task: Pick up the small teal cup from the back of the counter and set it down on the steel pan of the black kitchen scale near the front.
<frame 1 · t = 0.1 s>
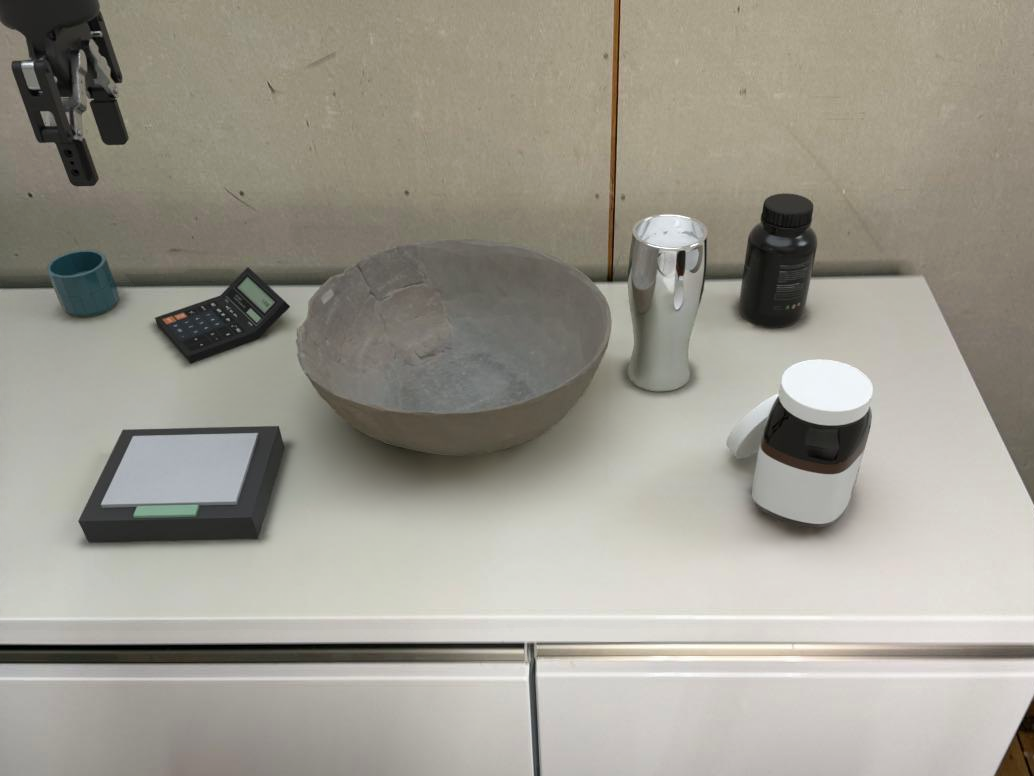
hand: (101, 163, 83), 20 cm above the table, tool pointing down, fingers open, 8 cm apart
kitchen scale: (191, 492, 83), on the table
calculator: (226, 326, 102), on the table
beer glass: (658, 375, 94), on the table
spread jar: (783, 487, 82), on the table
teal cup: (92, 304, 106), on the table
supplement bottle: (770, 313, 102), on the table
bowl: (463, 404, 91), on the table
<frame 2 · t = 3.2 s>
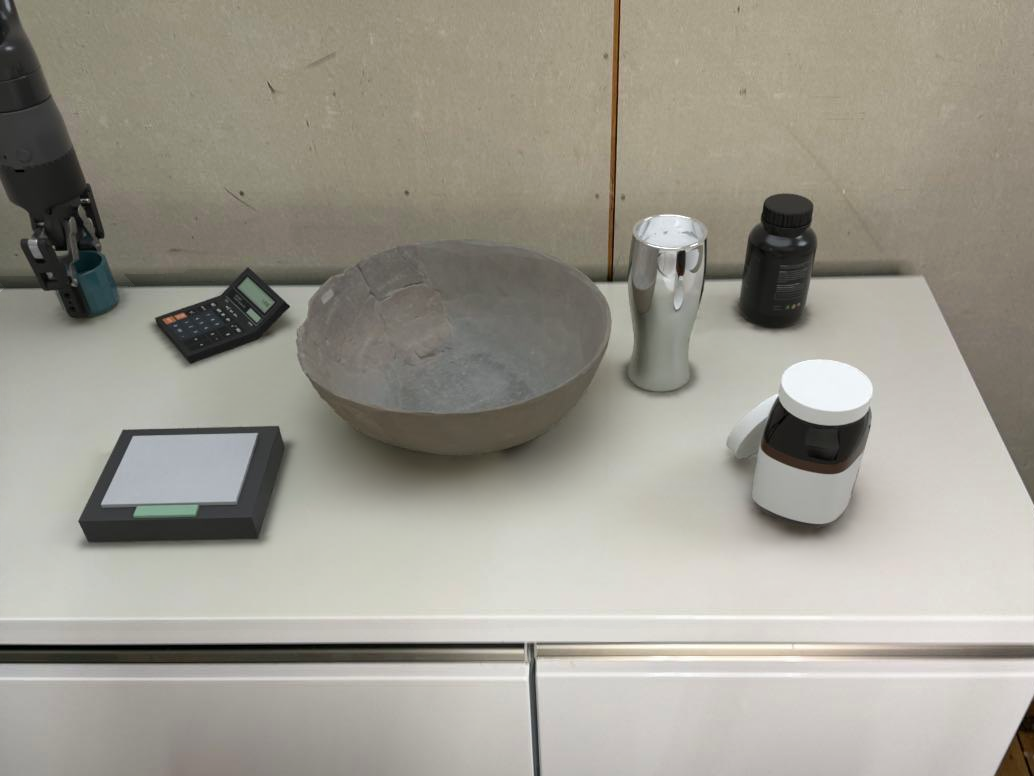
hand: (90, 299, 105), 1 cm above the table, tool pointing down, fingers closed on teal cup, 6 cm apart
teal cup: (92, 304, 106), on the table, touching gripper
everything else where it was.
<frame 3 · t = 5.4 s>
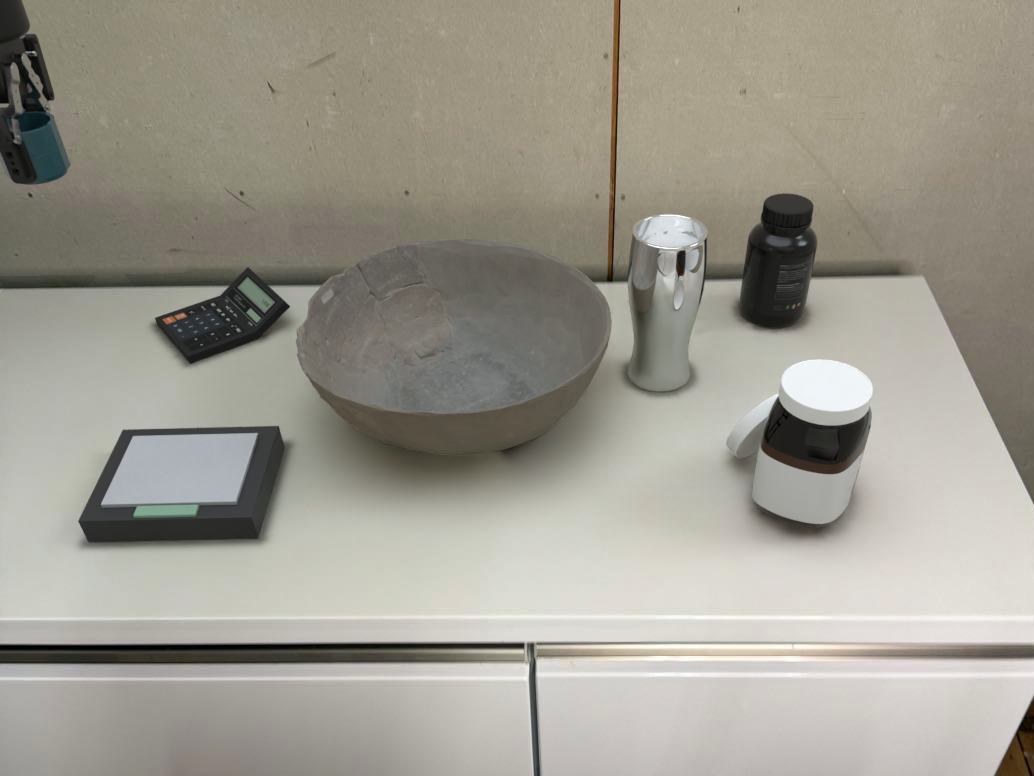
hand: (38, 167, 95), 16 cm above the table, tool pointing down, fingers closed on teal cup, 6 cm apart
teal cup: (40, 173, 95), point 15 cm above the table, touching gripper
everything else where it was.
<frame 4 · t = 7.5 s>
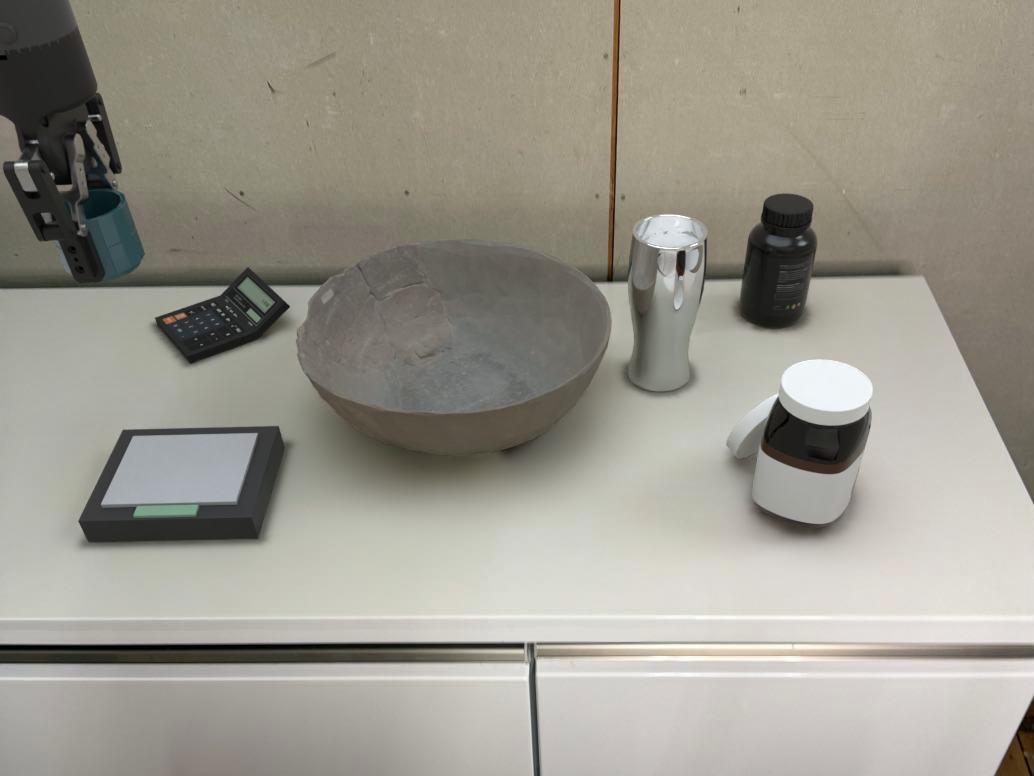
hand: (104, 258, 75), 18 cm above the table, tool pointing down, fingers closed on teal cup, 6 cm apart
teal cup: (107, 265, 76), point 18 cm above the table, touching gripper
everything else where it was.
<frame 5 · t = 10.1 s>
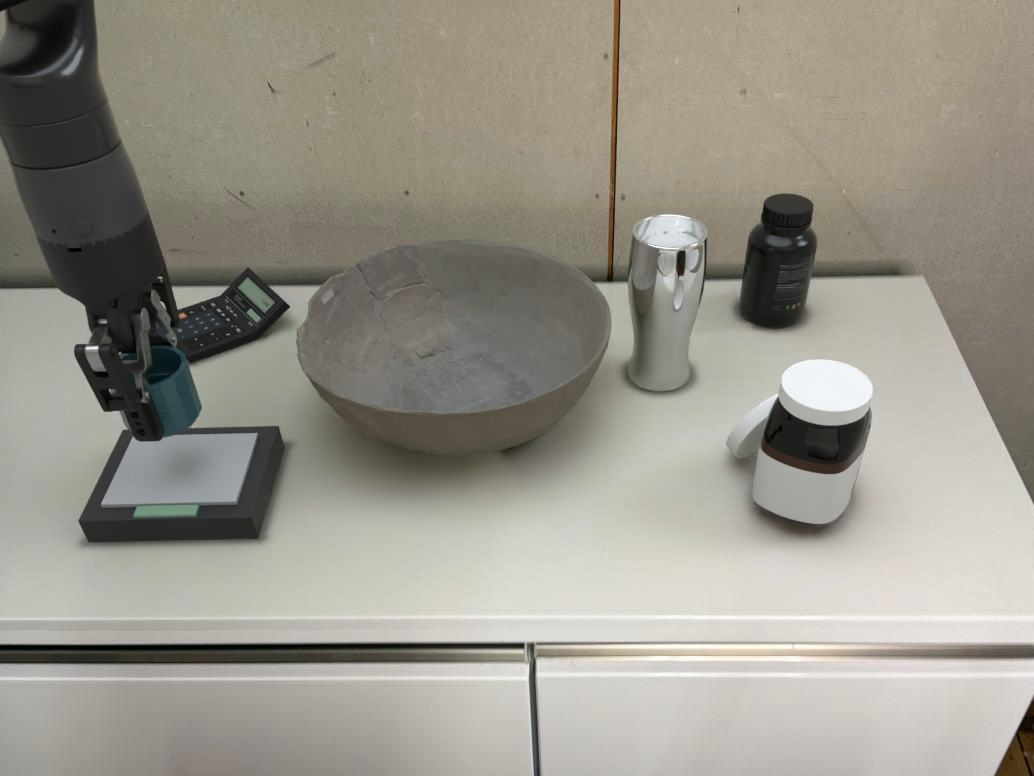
hand: (162, 412, 77), 9 cm above the table, tool pointing down, fingers closed on teal cup, 6 cm apart
teal cup: (165, 418, 77), point 8 cm above the table, touching gripper
everything else where it was.
when the fingers open (3 cm above the table, at t = 11.9 s): teal cup stays where it is, resting on kitchen scale.
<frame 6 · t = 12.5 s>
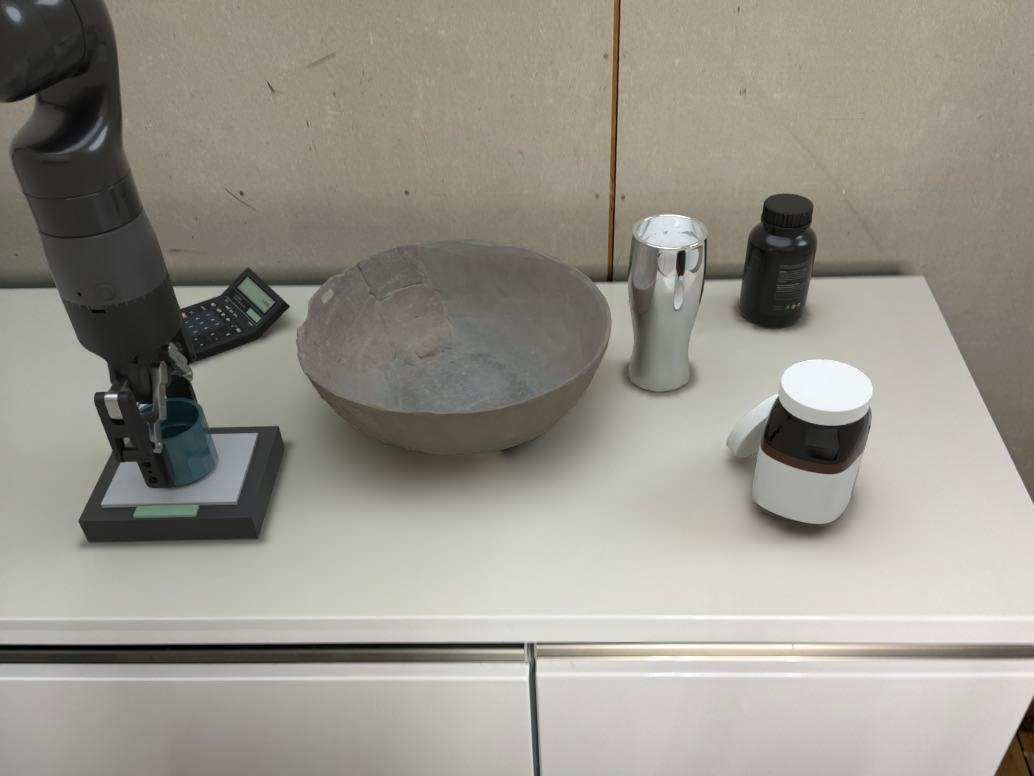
hand: (176, 451, 80), 4 cm above the table, tool pointing down, fingers open, 8 cm apart
teal cup: (182, 466, 81), point 3 cm above the table, touching kitchen scale
everything else where it was.
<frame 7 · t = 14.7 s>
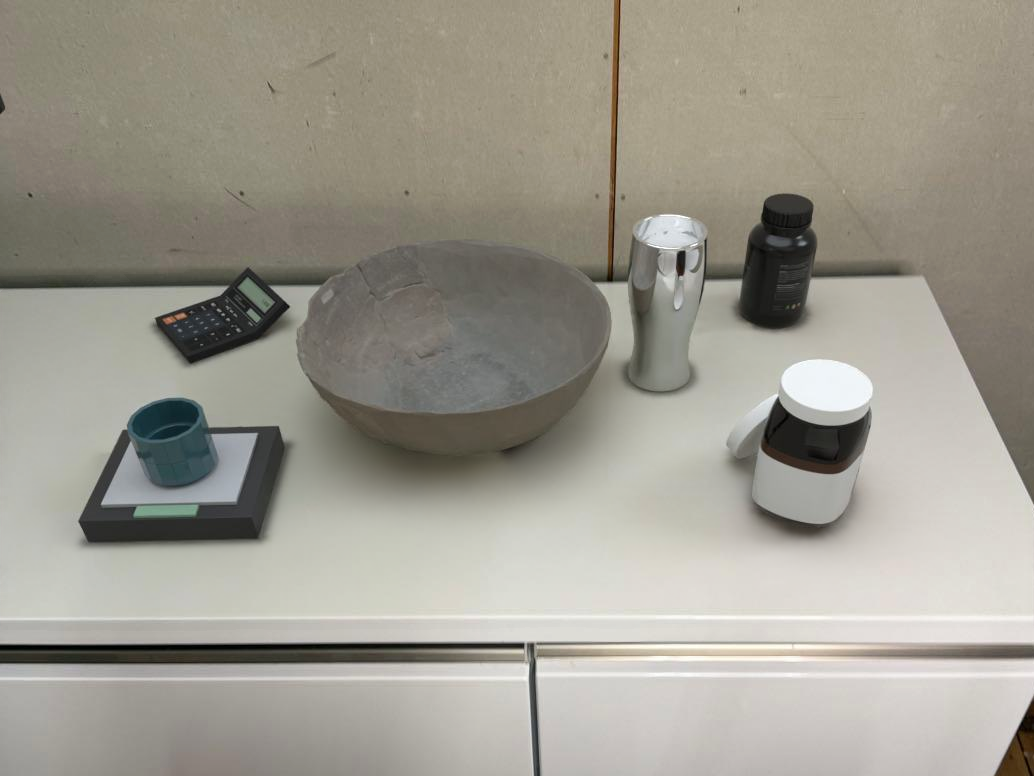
nothing on the table moved.
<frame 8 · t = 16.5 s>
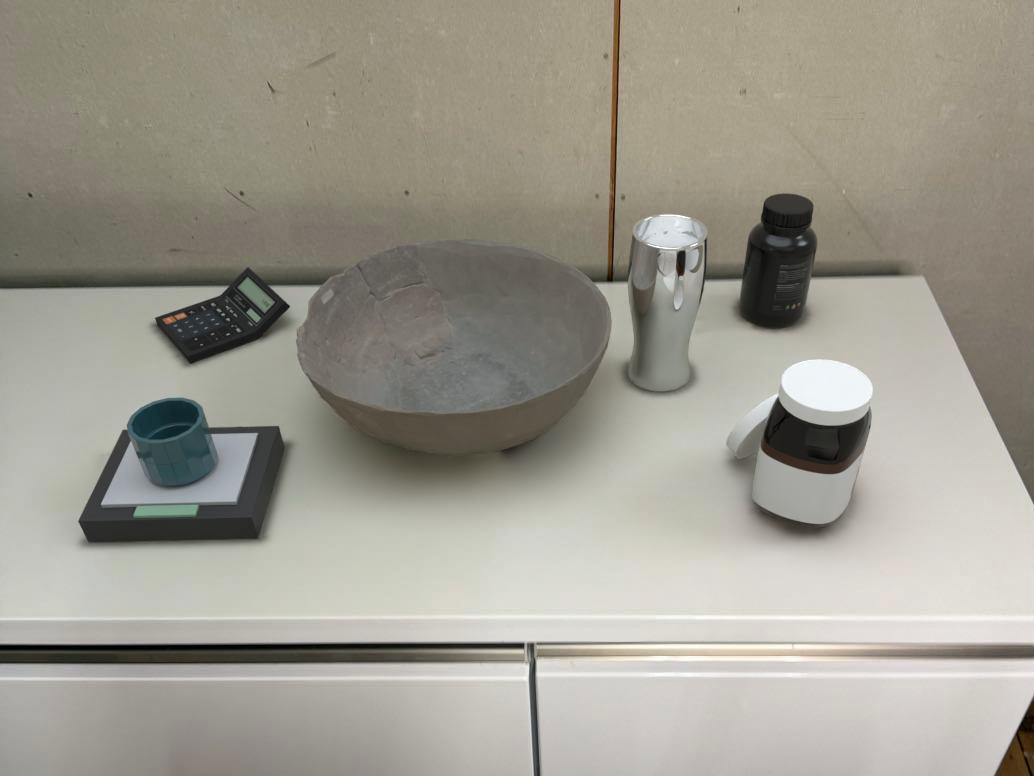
nothing on the table moved.
at the end: teal cup inside the target area on the kitchen scale (0.0 cm from its centre), point 2.8 cm above the kitchen scale's base; teal cup tilted 0°; the gripper is holding nothing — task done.
